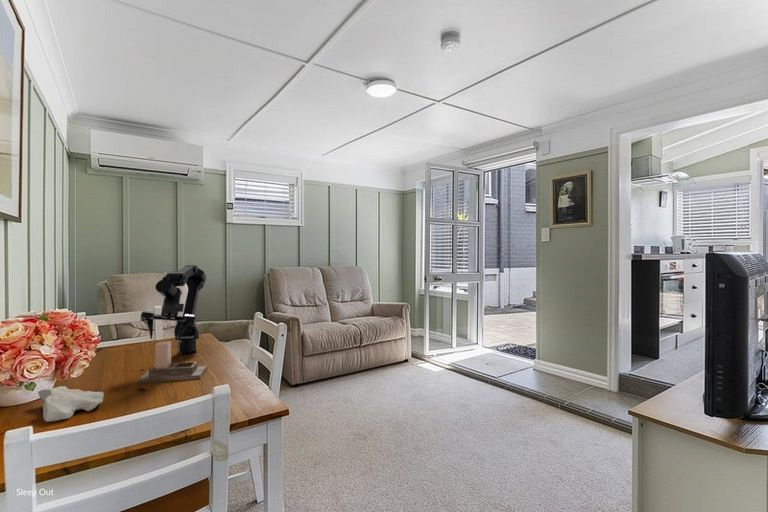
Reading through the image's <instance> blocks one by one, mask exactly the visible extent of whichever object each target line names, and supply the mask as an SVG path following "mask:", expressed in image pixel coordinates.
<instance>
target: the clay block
mask: <svg viewBox="0 0 768 512" xmlns="http://www.w3.org/2000/svg"><path fill="white" fill-rule="evenodd" d="M171 363H172V341H159V342H158V343H155V345H154V365H155V369H166V368H170V367H171Z"/></svg>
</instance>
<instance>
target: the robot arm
mask: <svg viewBox="0 0 768 512" xmlns="http://www.w3.org/2000/svg"><path fill="white" fill-rule="evenodd" d="M206 281H207V275H206V273H205V272H204V270H203V269H200V268H199V267H198V265H196V264H187V265H184V267H182V268H180V269H179V270H177V271H173V272H172V271H171V272H167V273H166V275H164V276H163V277H162V279H160V280H159V281H157V283H156V284H155V286H154V287H155V290H156V292H158V293H159V294H160V295H161V296H162V297H164V299H163V302H162V307H161V313H160V314H155V313H154V311H150V310H149V311H147V310H143V311H141V315H140V321H141V322H143V324H145V325H146V326H147V328H148V332H149V338H150V340H152V339H153V330H154V329H153V327H154V320H159V321H173V322H174V321H175V322H176V324H175V327H174V330H173V331H174V332H173V333H174V339H175V341H178V342H177V352H178V353H177V352H176V353H177V354H180V355H182V354H185V355H188V354H187V353H190V354H193V353H192V352H195V353H197V352H196V351H198V350H197V340H198V339H200V332H199V329H198V328H197V323H196V315H195V313H196V309H197V304H198V299H199V293H200V291H201V290H202V289H203V288H204V286H205V283H206ZM185 285H186V286H187V288H188V290H187V293H186V294H187V295H186V299H185V303H180V301H181V295H183V292H182V290H181V288H179V287H184V286H185ZM179 313H182V316H178V315H179Z"/></svg>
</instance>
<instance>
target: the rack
mask: <svg viewBox="0 0 768 512" xmlns="http://www.w3.org/2000/svg"><path fill="white" fill-rule="evenodd" d="M207 369H208V366H207V365H199V366H198V361H197V360H196V361H185V362H171V367H170V368H166V369H155V364H154V365H153V366H152V367H151V368H150V369H148V370H147V371H146V372H145V373H143V375H141V376H140V377H138V379H136V384H148V383H160V382H161V383H162V382H163V383H164V382H173V381H174V382H175V381H186V380H199V379H201V378H202V377H203V375H204V374H205V372H206V371H207ZM205 370H206V371H205Z"/></svg>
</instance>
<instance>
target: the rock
mask: <svg viewBox="0 0 768 512" xmlns="http://www.w3.org/2000/svg"><path fill="white" fill-rule="evenodd" d="M37 394H38V397H39V398H40V399H42V400H43V401H44V403H43V406H42V411H43V413H42V417H43V420H44V421H45V422H46V423H49V422H57V421H60V420H68V419H70V418H71V417H73V415H74V413H75V412H76V411H80V410H84V411H86V412H90V411H92V410H93V409H95V408H96V407H97V406H99V405H100V404H102V403H103V402H104V397H105V394H104V392H103V391H90V390H87V391H84V390H81V389H79V388H77V389H76V388H75V389H73V388H70V389H69V388H68V387H67V386H66V385H64V386H62V385H61V386H57V387H52V388H44V389H41V390H39V391H37Z"/></svg>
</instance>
